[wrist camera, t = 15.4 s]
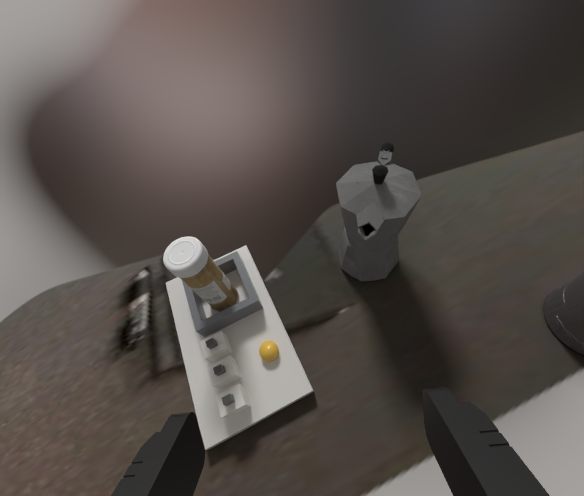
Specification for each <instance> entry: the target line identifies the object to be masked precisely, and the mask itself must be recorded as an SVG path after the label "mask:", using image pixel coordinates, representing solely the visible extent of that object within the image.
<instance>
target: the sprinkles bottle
mask: <svg viewBox="0 0 584 496" xmlns="http://www.w3.org/2000/svg"><path fill="white" fill-rule="evenodd" d="M163 261H164V264H165V266H166V268H167V269H168V270H169V271H170V272H171V273H173V274H174V275H175V276H177V277H179V278H180V279H182V280H183V281H184V282H185V283H186V285H187V286H188V287H189V288H191V289H192V290H193V291H194V292H195V293H196V294H197V295H198V296H199V297H201V298H202V299H203V300H204V301H205V302H207V303H208V304H209V305H210V306H211V308H212V309H213V310H215V311H219V312H221V311H223V310H225V309H227V308H229V307H231V306H233V305H235V304H236V302H237V299H238V291H237V289H236V287H235V286H234V285H232V284H231V282H230V281H229V279H228V278H227V277H226V275H225V274H224V273H223V272H222V270H221V269H220V268H219V267H218V265H217V264H216V263H215V262H214V261H213V260H212V259H211V258H210V256H209V255H208V252H207V250H206V248H205V247H204V245H203V244H202V243H201V242H200V241H199V240H198V239H196V238H194V237H182V238H179V239H177V240H175V241H174V242H172V243H171V244H170V245H169V246H168V247H167V249H166V251H165V253H164V257H163Z"/></svg>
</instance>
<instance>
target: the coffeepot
mask: <svg viewBox="0 0 584 496" xmlns="http://www.w3.org/2000/svg"><path fill="white" fill-rule="evenodd" d="M393 150H394V146H393V144H391V143H389V142H386V143H384V144H383V145H382V147H381V151H380V154H379V158H378V161H377V162H371V163H364V164H358V165H354V166H353V167H352V168H351V169H350V170H349V171H348V172H347V173H346V174H345V175H344V176H343V177H342V178H341V179H340V180H339V181H338V182H337V183H336V186H337V191H338V196H339V201H340V206H341V211H342V215H343V220H344V225H345V228H344V231H343V234H342V237H341V240H340V243H339V246H338V254H339V260H340V265H341V269H342V270H344V271H345V272H347V273H348V274H349V275H350V276H352V277H354V278H356V279H358V280H359V281H375V280H379V279H385V278H386V277H387V276H388V274H389V273H390V272H391V271H392V269H393V268H394V266H395V265H396V264H397V262H398V236H397V235H398V234H399V232H400V231H401V229H402V228H403V226H404V225H405V223H406V221H407V220H408V218H409V216H410V215H411V213H412V211H413V210H414V208H415V206H416V205H417V203H418V201H419V200H420V198H421V196H422V194H421V191H420V189H419V187H418V184H417V182H416V180H415V177H414V175H413V173H412V172H411V171H409V170H406V169H404V168H402V167H399V166H397V165H394V164H392V163H390V161H391V158H392V154H393Z"/></svg>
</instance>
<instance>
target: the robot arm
mask: <svg viewBox="0 0 584 496" xmlns="http://www.w3.org/2000/svg"><path fill="white" fill-rule="evenodd" d="M544 316H545V319H546V321H547V324H548V326H549V327H550V329H551V330H552V332H553V333H554V334H555V335H556V336H557V338H558V339H559V340H561V341H562V342H563V343H564V344H565V345H566V346H568V347H569V348H571V349H573V350H574V351H576V352H578V353H580V354H582V355H584V273H582V274H581V275H579V276H577V277H576V278H574V279H573V280H571V281H569V282H568V283H566V284H565V285H563V286H562V287H560V288H558V289H557V290H555V291H554V292H552V293H551V294H550V295H549V296H548V297H547V299H546V301H545V303H544ZM422 396H423V409H424V422H425V430H426V435H427V438H428V441H429V444H430V447H431V449H432V451H433V453H434V456H435V458H436V460H437V462H438V464H439V466H440V468H441V470H442V473H443V475H444V477H445V479H446V481H447V483H448V485H449V487H450V489H451V492H452V493H453V496H549V494H548V493H547V492H546V491H545V489H544V488H543V487H542V485H541V484H540V483H539V482H538V480H537V479H536V478H535V477H534V475H533V474H532V472H531V471H530V470H529V469H528V467H527V466H526V465H525V464H524V462H523V461H522V460H521V458H520V457H519V456H518V455H517V453H516V452H515V451H514V449H513V448H512V447H510V446H509V443H508V442H507V440H506V439H505V438H504V437H503V435H502V434H501V433H499V431H498V429H497V428H496V426H495V425H494V424H493V422H492V421H491V420H490V419H489V417H488V416H487V415H486V414H485V413H484V412H482V411H481V410H480V409H478V408H477V407H476V406H474V405H473V404H471V403H470V402H464V403H459V402H458V401H457V399H456V398H455V396H454V395H453V393H452V392H451V391H450V389H449V388H448V387H447V386H443V387H433V388H424V389H423V391H422ZM204 460H205V447H204V443H203V439H202V436H201V432H200V428H199V425H198V421H197V418H196V415H195V413H193V412H189V413H180V414H172V415H171V416H170V417H169V418H168V420H167V421H166V423H165V425H164V427H163V428H162V430H161V432H157V433H155V434H154V435H153V436H152V437H151V438H150V439H149V440H148V441H147V442H146V443H145V444H144V445H143V446H142V447H141V448H140V450H139V452H138V453H137V455H136V456H135V458H134V460H133V461H132V465H131V466H129V468H128V469H127V471H126V473H125V474H124V477H123V479H121V481H120V482H119V484H118V485H117V487H116V489H115V490H114V492H113V493H112V495H111V496H193V494H194V491H195V488H196V486H197V483H198V480H199V477H200V474H201V472H202V469H203V465H204Z"/></svg>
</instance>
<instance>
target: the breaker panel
mask: <svg viewBox="0 0 584 496" xmlns="http://www.w3.org/2000/svg"><path fill="white" fill-rule="evenodd" d="M214 262H215V263H216V264H217V265H218V267H219V268H220V269H221V270H222V272H223V273H224V274H225V275H226V277H227V278H228V279H229V281H230V282H231V284H232V285H234V286H235V287H236V289H237V291H238V299H237V302H236V304H235V305H233V306H231V307H229V308H227V309H225V310H223V311H221V312H219V311H215V310H213V309H212V308H211V306H210V305H209V304H208V303H207V302H205V301H204V300H203V299H202V298H201V297H199V296H198V295H197V294H196V293H195V292H194V291H193V290H192V289H191V288H189V287H188V286H187V285H186V283H185V282H184V281H183V280H182V279H180V278H179V277H177V278H175V279H173V280H171V281H169V282H167V283H166V286H167V290H168V295H169V299H170V303H171V307H172V312H173V316H174V320H175V325H176V329H177V333H178V338H179V342H180V346H181V351H182V355H183V359H184V363H185V368H186V372H187V376H188V381H189V385H190V389H191V394H192V398H193V402H194V407H195V411H196V415H197V420H198V424H199V428H200V432H201V436H202V439H203V443H204V447H205V450H209V449H211V448H213V447H215V446H217V445H218V444H220V443H222V442H224V441H226V440H227V439H229V438H231V437H233V436H235V435H236V434H238V433H240V432H242V431H244V430H246V429H247V428H249V427H251V426H253V425H255V424H256V423H258V422H260V421H262V420H264V419H265V418H267V417H269V416H271V415H273V414H274V413H276V412H278V411H280V410H282V409H284V408H285V407H287V406H289V405H291V404H293V403H294V402H296V401H298V400H300V399H302V398H303V397H305V396H307V395H309V394H311V393H312V392H314V391H313V388H312V386H311V384H310V382H309V380H308V378H307V375H306V373H305V371H304V369H303V367H302V365H301V362H300V360H299V358H298V356H297V354H296V352H295V349H294V347H293V345H292V343H291V341H290V339H289V337H288V334H287V332H286V330H285V328H284V326H283V324H282V321H281V319H280V317H279V315H278V313H277V311H276V308H275V306H274V304H273V302H272V300H271V298H270V295H269V293H268V291H267V289H266V287H265V285H264V282H263V280H262V278H261V276H260V274H259V272H258V270H257V267H256V265H255V263H254V261H253V259H252V257H251V254H250V252H249V250H248V248H247V246H243V247H242V248H239V249H237V250H235V251H233V252H231V253H229V254H226V255H224V256H222V257H220V258H218V259H216V260H214Z"/></svg>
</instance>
